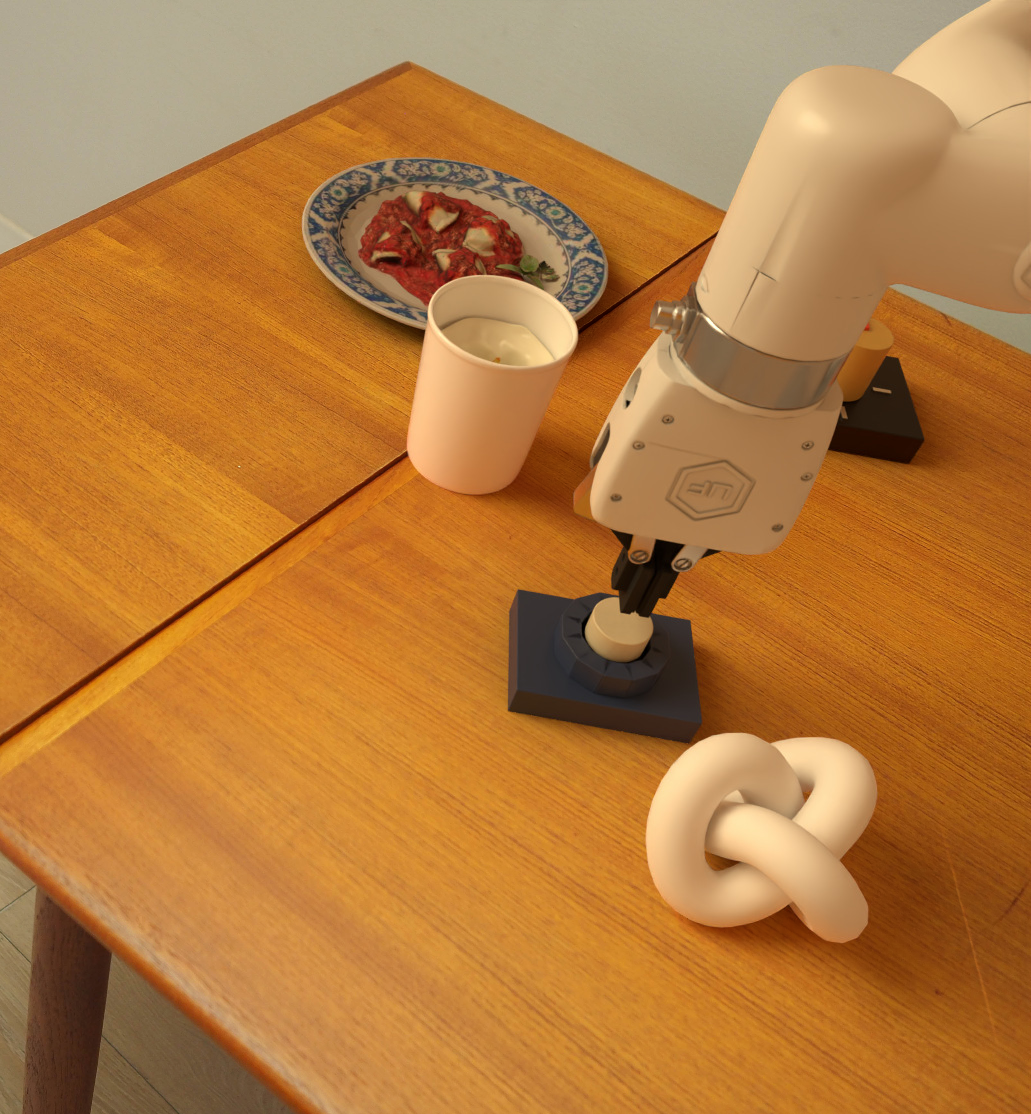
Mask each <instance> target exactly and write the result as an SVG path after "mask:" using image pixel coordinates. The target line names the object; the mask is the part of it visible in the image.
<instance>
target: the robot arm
mask: <svg viewBox="0 0 1031 1114" xmlns="http://www.w3.org/2000/svg"><path fill="white" fill-rule="evenodd" d="M894 285H903V286H906V287H910V288H914V289H917V290H921V291H924V292H927V293H931V294H934V295H939V296H941V297H944V298H948V299H951V300H954V301H958V302H962V303H964V304H967V305H970V306H973V307H974V306H975V307H979V308H982V309H987V310H990V311H995V312H1000V313H1001V312H1002V313H1007V314H1018V315H1031V0H989V1H987V2H984V3H983V4H981V5H980V6H978V7H976V8H974V9H973V10H971V11H969V12H967V13H966V14H963V16H961V17H959V18H957V19H956V20H954V21H953V22H951V23H949V24H948V25H946V26H945V27H943V28H942V29H941V30H939V31H938V32H935V34H934V35H932V36H931V37H930V38H928V39H927V40H925V41H923V43H921V44H920V45H919V46H918V47H916V48H915V49H914V50H913V51H912V52H910V54H909V55H907V56H906V57H905V58H904V59H903V60H902V61H901V62H900V63H899V64H898V65H897V66H896V67H895V68H894V69H893V70H892V72H888V71H884V70H880V69H875V68H872V67H866V66H860V65H854V64H853V65H852V64H831V65H825V66H821V67H817V68H814V69H811V70H809V71H806V72H804V73H802V74H801V75H799V76H798V77H797V76H796V78H794V79H793V80H792V81H791V82H790V83H789V84H788V85H787V86H785V88H784V89H783V90H782V92H781V93H780V95H778V97H777V99H776V101H775V103H774V105H773V106H772V110H771V111H770V112H769V115H768V117H767V119H766V122H765V124H764V126H763V129H762V131H761V133H760V136H759V138H758V140H757V142H756V145H755V147H754V149H753V152H752V154H751V156H750V158H749V161H748V163H747V165H746V167H745V170H744V172H743V175H742V177H741V179H740V181H739V184H738V186H737V189H736V191H735V192H734V195H733V198H732V200H731V202H730V204H729V207H728V208H727V212H726V214H725V216H724V218H723V221H722V223H721V225H720V227H719V230H718V232H717V234H716V237H715V239H714V241H713V243H712V245H711V248H710V250H709V253H708V255H707V257H706V259H705V262H704V264H703V266H702V269H701V271H700V273H699V275H698V277H697V281H691V283H690V285H689V287H688V290H687V292H686V294H685V295H683V297H682V298H681V299H680V300H676V299H673V300H672V301H665V300H660V299H657V300H656V301H655V302H654V304H653V306H652V309H651V313H650V318H649V328H650V329H653V330H659V331H662V332H661V333H660V334H659V335H658V337H657V338H656V339H655V341H654V342H653V343H652V345H650V347H649V348H648V350H647V351H646V352H645V353H644V355H643V356H642V358H641V360H639V362H638V364H637V365H636V366H635V368H634V370H633V371H632V373H631V375H630V376H629V377H628V378H627V380H626V383H625V384H624V386H623V388H622V389H621V391H620V393H619V394H618V396H617V397H616V399H615V402H614V403H613V405H612V407H611V409H610V412H609V413H608V415H607V417H606V419H605V421H604V423H603V425H602V427H601V429H600V431H599V434H598V436H597V438H596V440H595V442H594V445H593V448H592V450H591V454H590V458H589V468H590V471H589V472H588V473H587V474H586V476H585V477H584V478H583V480H582V481H581V482H580V483H579V485H577V487H576V488H575V490H574V491H573V493H572V500H573V501H572V502H573V503H572V504H573V512H574V515H576V516H578V517H581V518H583V519H586V520H589V521H591V522H593V523H596V524H599V525H601V526H603V527H605V528H608V529H610V532H612V533H613V535H614V537H616V539H617V540H618V541H619V542H620V544H621V545H622V548H621V550H620V553H619V555H618V556H617V559H616V560H615V563H614V565H613V567H612V571H611V576H610V582H611V583H610V586H611V587H610V588H611V590H612V591H618V596H619V605H620V613H624V614H629V615H630V614H631V612H632V613H634V612H635V611H636V613H637V614H638V615H639V616H640V617H646V618H649V617H650V615H651V613H653V611H654V610H655V608H656V606H657V604H658V602H659V600H660V599H662V600H666V599H667V598H668V596H669V594H670V592H671V590H672V588H673V587H674V585H675V583H676V581H677V579H678V578H679V575H680V573H686V572H689V571H691V570H693V569H694V567H695V566H696V565H697V564H698V562H699V561H700V560H702V559H704V558H707V557H711V556H713V555H716V554H718V553H721V552H726V553H732V554H738V555H745V556H746V555H748V556H758V555H766V554H770V553H772V552H774V551H776V550H777V549H778V548H779V547H781V545H782V544H783V543H784V541H785V540H786V539H787V537H788V535H789V534H790V532H791V530H792V529H793V527H794V525H795V523H796V521H797V520H798V518H799V516H800V514H801V511H802V510H803V508H804V506H805V503H806V501H807V499H808V497H809V496H810V494H811V491H812V489H813V487H814V484H815V482H816V480H817V478H818V475H819V473H820V470H821V468H822V465H823V464H824V461H825V458H826V455H827V452H828V450H829V449H828V447H829V445H830V442H831V439H832V436H833V434H834V431H835V427H836V424H837V421H838V417H839V414H840V411H841V407H842V403H843V393H842V390H841V387H840V385H839V384H838V381H837V376H838V374H839V373H840V371H841V369H842V367H843V366H844V364H845V362H846V360H847V359H848V357H849V355H850V353H851V352H852V350H853V348H854V346H855V344H856V343H857V341H858V339H859V338H860V336H861V334H862V332H863V331H864V329H865V327H866V325H867V324H868V322H869V320H870V318H871V317H872V318H873V315H874V313H875V311H876V309H877V308H878V306H879V304H880V303H881V301H882V299H883V297H884V295H885V294H886V292H887V290H888V289H889V288H890V286H894Z"/></svg>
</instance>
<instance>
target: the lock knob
mask: <svg viewBox="0 0 1031 1114" xmlns="http://www.w3.org/2000/svg"><path fill="white" fill-rule="evenodd" d="M894 343H895V336H894V334H893V332H892V330H890V328H889V327H888V326H887V325H886V324H884V323H883V322H881V321H880V320H878V319H876V318H874V317H873V316H872V317H871V318H870V320H869V322H868V324H867V325H866V327H865V329H864V331H863V332H862V334H861V336H860V338H859V339H858V341H857V343H856V344H855V346H854V348H853V350H852V352H851V353H850V355H849V357H848V359H847V360H846V362H845V364H844V366H843V367H842V369H841V371H840V373H839V374H838V376H837V381H838V384H839V385H840V387H841V390H842V393H843V401H846V402H849V401H855V400H858V399H860V398H861V397H862V396H863V394H864V393H865V391H866V389H867V388H868V386H869V384H870V382H871V381H872V379H873V377H874V376H875V374H876V372H877V371H878V369H879V367H880V366H881V364H882V362H883V361H884V359H885V357H886V356H888V354H889V353H890V350H891V349H892V347H893V346H894Z"/></svg>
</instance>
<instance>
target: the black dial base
mask: <svg viewBox="0 0 1031 1114" xmlns="http://www.w3.org/2000/svg"><path fill="white" fill-rule="evenodd" d="M900 361H901V360H900V358H899V357H896V356H890V355H886V357H885V359H884V361H883V362H882V364H881V366H880V367H879V369H878V371H877V372H876V374H875V376H874V377H873V379H872V381H871V382H870V384H869V386H868V388H867V389H866V391H865V393H864V394H863V396H862V397H861V398H860V399H858V400H855V401H849V402H846V401H843V403H842V407H841V411H840V414H839V417H838V421H837V424H836V427H835V431H834V434H833V436H832V439H831V442H830V445H829V447H828V450H830V451H835V452H841V453H847V454H851V455H852V454H853V455H857V456H862V457H869V458H875V459H880V460H885V461H891V462H896V463H902V464H907V465H908V464H911V462H912V461H913V459H914V457H915V456H916V455H917V453H918V452H919V450H920V448H921V447H922V446H923V444H924V443H925V440H926V439H925V436H924V433H923V429H922V426H921V423H920V420H919V417H918V414H917V410H916V407H915V404H914V402H913V399H912V395H911V392H910V389H909V385H908V383H907V379H906V376H905V374H904V370H903V368H902V365H901V362H900Z"/></svg>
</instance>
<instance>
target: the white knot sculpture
mask: <svg viewBox="0 0 1031 1114" xmlns="http://www.w3.org/2000/svg"><path fill="white" fill-rule="evenodd" d="M874 772H875V771H874V769H873V768H872V766H871V763H870V761H869V760H868V759H867V758H866V757H865V755H863V754H862V753H861V752H860V751H859V750H857V749H856V748H854V747H853V746H852V745H850V744H849V743H846V742H844V741H841V740H839V739H837V738H830V737H825V736H813V737H811V736H809V737H807V736H805V737H793V738H787V739H781V740H777V741H774V742H771V743H770V742H768V741H766V740H764V739H763V738H761V737H758V736H757V735H754V734H752V733H747V732H724V733H720V734H714V735H710V736H708V737H706V738H704V739H702V740H699V741H698V742H696V743H695V744H693V745H691V747H689V748H688V749H686V750H684V752H683V753H682V754H681V755H680V756H679V757H678V758H677V759H676V760H675V761H674V762H673V763H672V764H671V765H670V767H669V769H667V772H666V773H665V774H664V776H663V778H662V779H661V781H660V783H659V785H658V787H657V789H656V791H655V794H654V796H653V798H652V800H651V804H650V808H649V812H648V816H647V819H646V828H645V829H646V830H645V848H646V859H647V866H648V869H649V872H650V875H651V878H652V882H653V884H654V887H655V888H656V890H657V891H658V894H660V897H661V898H662V899H663V900H664V901H665V902H666V904H667V905H669V907H670V908H672V910H673V911H674V912H676V913H678V914H680V915H681V916H682V915H683V917H684V918H685V919H687V918H688V919H687V920H690V921H691V922H695V923H698V924H701V925H704V926H706V927H713V928H732V927H738V926H745V925H748V924H749V925H750V924H752V923H755V922H758V921H761V920H764V919H766V918H768V917H770V916H772V915H774V914H776V913H778V912H779V911H781V910H782V909H784V908H786V907H787V906H789V907H790V908H791V910H792V911H793V913H794V914H795V915H796V916H797V918H798V919H799V920H800V921H801V922H802V923H803V925H804V926H805V927H807V928H808V929H809V930H810V931H811V932H813V933H814V934H815V935H817V936H818V937H819V938H821V939H822V940H823V941H826V942H832V943H837V944H844V943H847V942H850V941H852V940H855V939H857V938H859V937H860V935H861V934H862V932H863V931H864V930H865V928H866V927H867V925H868V923H869V905H868V902H867V900H866V898H865V896H864V895H863V894H864V893H862V891H861V889H860V887H859V885H858V883H857V882H856V880H855V879H854V877H853V875H852V874H851V872H850V871H849V870H848V869H847V868H846V867H845V865H844V864H843V863H842V862H841V859H843V857H844V856H845V855H846V853H847V852H848V851H849V850H850V849H851V848H852V847H853V846H854V845H855V844H856V842H857V841H858V839H859V838H860V837H861V836H862V834H863V833H864V831H865V829H866V828H867V827H868V826H869V823H870V821H871V819H872V818H873V817H872V816H873V815H874V812H875V809H876V805H877V801H878V785H877V779H876V776H875V773H874ZM809 792H811V793H810V795H809V796H808V798H807V800H805V797H804V793H809ZM706 853H708V854H711V855H714V856H718V857H720V858H724V859H727V860H732V861H735V862H736V861H737V862H738V863H735V864H734V865H732V866H729V867H727V868H725V869H720V870H715V869H713V868H712V867H711V866H710V864H709V863H708V861H707V860H706Z"/></svg>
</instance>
